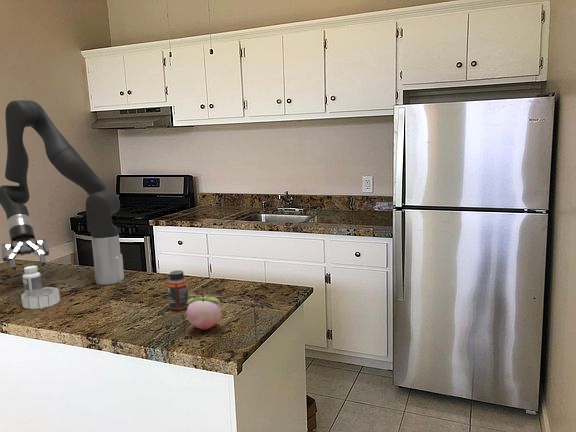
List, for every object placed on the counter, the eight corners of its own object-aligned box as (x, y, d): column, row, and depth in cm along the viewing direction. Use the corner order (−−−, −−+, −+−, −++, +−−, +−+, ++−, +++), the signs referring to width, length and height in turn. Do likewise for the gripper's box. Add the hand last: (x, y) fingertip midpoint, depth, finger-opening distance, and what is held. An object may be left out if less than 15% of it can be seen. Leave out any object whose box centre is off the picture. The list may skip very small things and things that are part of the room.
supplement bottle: (192, 305, 144) (190, 270, 142) (182, 312, 138) (180, 275, 136) (176, 303, 145) (173, 268, 144) (165, 310, 140) (162, 274, 138)
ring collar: (64, 296, 154) (63, 286, 154) (52, 307, 144) (50, 297, 144) (31, 298, 153) (30, 288, 153) (16, 309, 143) (15, 299, 142)
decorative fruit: (222, 322, 130) (220, 287, 128) (222, 334, 122) (220, 297, 120) (188, 324, 128) (186, 290, 127) (185, 336, 120) (183, 300, 119)
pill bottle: (43, 291, 160) (40, 264, 159) (41, 296, 155) (38, 268, 154) (26, 293, 159) (23, 266, 157) (23, 298, 154) (19, 270, 152)
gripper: (-3, 226, 159) (4, 265, 152) (43, 221, 167) (52, 257, 160) (-2, 238, 164) (5, 277, 157) (42, 233, 173) (51, 269, 165)
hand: (29, 267), depth 159 cm, fingers open, 8 cm apart
